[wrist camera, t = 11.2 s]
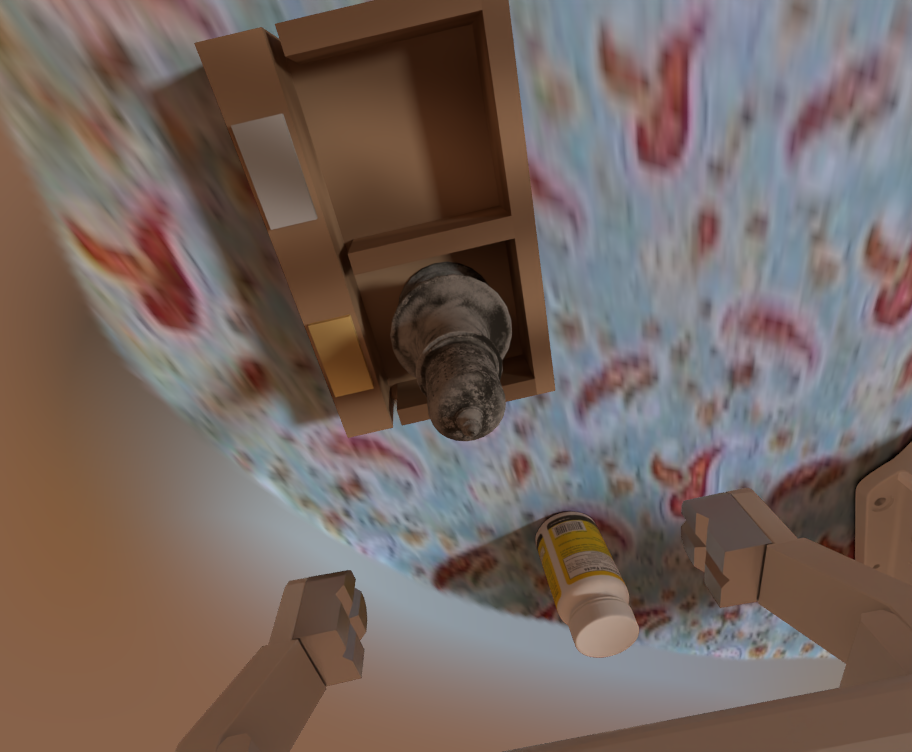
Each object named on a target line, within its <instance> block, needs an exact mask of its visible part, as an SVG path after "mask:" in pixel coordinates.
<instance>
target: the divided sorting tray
mask: <svg viewBox="0 0 912 752" xmlns="http://www.w3.org/2000/svg"><path fill="white" fill-rule="evenodd" d="M275 26H276V29H277V32H278V35H279V38H277V37H276V36H274V35H273V34H271V33H270V32H268V31H267V30H265V29H263V28H262V27H260V28H256V29H251V30H247V31H243V32H239V33H235V34H230V35H226V36H222V37H218V38H214V39H209V40H205V41H201V42H197V43H194V44H195V46H196V49H197V51H198V54H199V56H200V59H201V62H202V64H203V67H204V69H205V72H206V74H207V77H208V80H209V82H210V85H211V87H212V90H213V92H214V95H215V98H216V100H217V103H218V105H219V108H220V110H221V113H222V116H223V118H224V121H225V123H226V126H227V128H228V131H229V134H230V136H231V139H232V141H233V144H234V146H235V149H236V152H237V154H238V157H239V159H240V162H241V164H242V167H243V170H244V172H245V175H246V177H247V180H248V182H249V185H250V188H251V190H252V193H253V195H254V198H255V200H256V203H257V206H258V208H259V211H260V213H261V216H262V218H263V221H264V224H265V226H266V229H267V231H268V234H269V236H270V239H271V242H272V244H273V247H274V249H275V252H276V254H277V257H278V260H279V262H280V265H281V267H282V270H283V272H284V275H285V278H286V280H287V283H288V285H289V288H290V290H291V293H292V296H293V298H294V301H295V303H296V306H297V308H298V311H299V314H300V316H301V319H302V321H303V324H304V326H305V329H306V332H307V334H308V337H309V339H310V342H311V344H312V347H313V349H314V352H315V355H316V357H317V360H318V362H319V365H320V367H321V370H322V373H323V375H324V378H325V380H326V383H327V385H328V388H329V391H330V393H331V396H332V398H333V401H334V403H335V406H336V409H337V411H338V414H339V416H340V419H341V421H342V424H343V427H344V429H345V432H346V434H347V437H348V438H349V437H354V436H358V435H363V434H367V433H371V432H376V431H380V430H384V429H389V428H393V406H394V399H397V412H398V415H399V418H400V421H401V424H402V425H406V424H411V423H415V422H419V421H424V420H428V419H430V417H429V414H428V406H427V397H426V396H425V395H424V394H423V392H422V391H421V389H420V387H419V385H418V383H417V379H416V378H415V377H413V376H412V375H410V374H409V373H408V372H407V371H406V370H405V369H404V368H403V367H402V365H401V364H400V363H399V361H398V359H397V357H396V355H395V353H394V351H393V348H392V342H391V336H390V333H391V324H392V318H393V316H394V313H395V311H396V308H397V306H398V304H399V297H400V295H401V292H402V290H403V287H404V285H405V284H406V283H407V282H408V280H409V279H410V278H411V276H412V275H414V274H415V273H416V272H418V271H419V270H421V269H422V268H424V267H426V266H429V265H431V264H434V263H441V262H454V263H461V264H463V265H465V266H468V267H470V268H472V269H474V270H475V271H476V272H477V273H479V274H480V275H481V276H482V277H483V278H484V279H485V281H486V282H487V284H488V285H489V286H490V287H491V288H492V289H493V290H495V291H496V292H497V293H498V294H499V296H500V297H501V299H502V300H503V301H504V303H505V304H506V306H507V309H508V312H509V315H510V318H511V324H512V337H511V341H510V345H509V349H508V351H507V353H506V355H505V357H504V358H503V360H502V365H503V371H502V375H501V379H500V383H501V385H502V388H503V391H504V394H505V402H507V401H512V400H516V399H520V398H525V397H529V396H533V395H538V394H542V393H547V392H551V391H555V383H554V375H553V366H552V358H551V350H550V341H549V333H548V325H547V317H546V308H545V300H544V292H543V283H542V275H541V267H540V259H539V250H538V242H537V234H536V225H535V217H534V209H533V200H532V192H531V184H530V176H529V167H528V159H527V151H526V142H525V134H524V126H523V117H522V109H521V101H520V93H519V84H518V76H517V68H516V59H515V51H514V43H513V35H512V26H511V18H510V10H509V1H508V0H374V1H369V2H365V3H361V4H357V5H353V6H348V7H344V8H340V9H336V10H332V11H327V12H323V13H319V14H315V15H310V16H306V17H302V18H298V19H294V20H289V21H285V22H281V23H277V24H275Z"/></svg>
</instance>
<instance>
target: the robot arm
mask: <svg viewBox="0 0 912 752" xmlns="http://www.w3.org/2000/svg"><path fill="white" fill-rule="evenodd" d="M681 513H682V515H683V516H684V518H685V519H686V521H685V522H684V524H683V525H682V526H681V538H682V541H683V545H684V549H685V551H686V553H687V555H688V557H689V559H690V561H691V562H692V564H693V566H694V567H696V568H698V569H699V570H701V571H703V572H705V573H704V583H705V585H706V586H707V588H708V590H709V591H710V593H711V594H712V596H713V598H714V599H715V601H716V602H717V604H718V605H719V607H720V608H722V607H728V606H733V605H739V604H745V603H751V602H757V601H759V602H758V603H759V604H760V605H761V606H763V607H764V608H766V609H767V610H769V611H770V612H772V613H773V614H774V615H776V616H777V617H779V618H780V619H782V620H783V621H785V622H786V623H788V624H789V625H790V626H792V627H793V628H795V629H796V630H798V631H799V632H801V633H802V634H804V635H805V636H806V637H808V638H809V639H811V640H812V641H814V642H815V643H817V644H818V645H819V646H821V647H822V648H824V649H825V650H827V651H828V652H830V653H831V654H833V655H834V656H835V657H837V658H838V659H840V660H841V661H843V662H844V663H846V667H845V670H844V673H843V677H842V680H841V683H840V687H839V688H835V689H830V690H825V691H820V692H814V693H809V694H804V695H798V696H793V697H788V698H783V699H777V700H772V701H767V702H761V703H757V704H751V705H746V706H741V707H735V708H730V709H725V710H720V711H714V712H709V713H703V714H698V715H693V716H688V717H683V718H678V719H672V720H667V721H661V722H656V723H651V724H645V725H640V726H635V727H630V728H624V729H619V730H614V731H608V732H603V733H598V734H592V735H587V736H582V737H577V738H571V739H566V740H561V741H556V742H551V743H545V744H540V745H535V746H530V747H524V748H520V749H514V750H509V751H503V752H912V441H911V442H910V443H909V445H908V446H907V447H906V448H905V449H904V450H903V451H901V452H900V453H899V454H898V455H897V456H896V457H895V458H894V459H892V460H890V461H889V462H887V463H886V464H884V465H882V466H881V467H879V468H878V469H876V470H875V471H873V472H872V473H870V474H869V475H867V476H866V477H865V478H864V479H862V480H861V481H860V483H859V484H858V485H857V488H856V499H855V560H853V559H851V558H849V557H847V556H844V555H842V554H840V553H838V552H836V551H833V550H831V549H829V548H827V547H824V546H822V545H820V544H818V543H816V542H813V541H811V540H809V539H807V538H799V539H798V538H797V537H796V536H795V535H794V534H793V533H792V532H791V531H790V530H789V529H788V527H787V526H786V525H785V524H784V523H783V522H782V521H781V520H780V519H779V518H778V517H777V516H776V515H775V513H774V512H773V511H772V510H771V509H770V508H769V507H768V506H767V505H766V504H765V503H764V502H763V501H762V500H761V498H760V497H759V496H758V495H757V494H756V493H755V492H754V491H753V490H752V489H750V488H743V489H738V490H733V491H729V492H726V493H724V492H723V493H718V494H714V495H709V496H704V497H700V498H695V499H691V500H686V501H684V502H683V504H682V512H681ZM355 580H356V579H355V577H354V575H353V573H352V571H351V570H346V571H341V572H335V573H330V574H324V575H318V576H313V577H308V578H303V579H297V580H292V581H289V582H288V584H287V585H286V587H285V589H284V592H283V595H282V599H281V602H280V606H279V609H278V613H277V616H276V620H275V623H274V627H273V631H272V634H271V637H270V641H269V644H268V645H265V646H262V647H261V648H260V649H259V651H258V652H257V653H256V654H255V655H254V656H253V657H252V659H251V660H250V661H249V662H248V663H247V664H246V666H245V667H244V668H243V669H242V671H241V672H240V673H239V674H238V675H237V676H236V677H235V678H234V680H233V681H232V682H231V683H230V684H229V686H228V687H227V688H226V689H225V690H224V691H223V692H222V694H221V695H220V696H219V697H218V698H217V699H216V701H215V702H214V703H213V704H212V705H211V706H210V708H209V709H208V710H207V711H206V712H205V713H204V715H203V716H202V717H201V718H200V719H199V720H198V721H197V723H196V724H195V725H194V726H193V727H192V729H191V730H190V731H189V732H188V733H187V734H186V735H185V737H184V738H183V739H182V740H181V741H180V742H179V744H178V745H177V748H176V751H175V752H290V750H291V748H292V746H293V745H294V743H295V741H296V740H297V738H298V736H299V735H300V733H301V731H302V729H303V728H304V726H305V724H306V723H307V721H308V719H309V717H310V716H311V714H312V712H313V711H314V709H315V707H316V706H317V704H318V702H319V700H320V699H321V697H322V695H323V694H324V692H325V690H326V687H325V686H330V685H334V684H338V683H343V682H347V681H352V680H356V679H360V678H362V667H363V659H364V648H363V646H362V644H361V642H360V640H361V639H362V637H363V636H364V634H365V633H366V628H367V611H366V604H365V600H364V597H363V594H362V593H361V591H360V590H358V589H356V588H355Z"/></svg>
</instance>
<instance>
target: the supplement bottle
mask: <svg viewBox="0 0 912 752" xmlns="http://www.w3.org/2000/svg"><path fill="white" fill-rule="evenodd" d="M535 542H536V547H537V550H538V553H539V556H540V559H541V562H542V565H543V568H544V572H545V575H546V578H547V581H548V584H549V587H550V590H551V593H552V596H553V599H554V602H555V605H556V609H557V612H558V614H559V616H560V618H561V619H562V621H563V622H564V623H565V624H567V625H568V626H569V629H570V632H571V635H572V638H573V640H574V643H575V646H576V648H577V649H578V651H579V652H581V653H582V654H584V655H586V656H589V657H595V658H602V657H608V656H612V655H616V654H618V653H620V652H622V651H624V650H626V649H627V648H629V647H630V646H631V645H632V644H633V643H634V642H635V640H636V639H637V637H638V634H639V627H638V624H637V622H636V619H635V617H634V614H633V611H632V609H631V608H630V606H629V593H628V589H627V587H626V585H625V583H624V581H623V579H622V576H621V574H620V572H619V570H618V568H617V566H616V564H615V562H614V560H613V558H612V556H611V554H610V552H609V550H608V548H607V546H606V544H605V542H604V540H603V538H602V536H601V534H600V532H599V530H598V528H597V526H596V524H595V522H594V521H593V520H592V519H591V518H590V517H589V516H587V515H585V514H583V513H579V512H563V513H559V514H556V515H554V516H552V517H550V518H549V519H547V520H546V521H545V522H544V523H543V524H542V525H541V527H540V528H539V530H538V532H537V534H536V538H535Z"/></svg>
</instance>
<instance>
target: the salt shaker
mask: <svg viewBox="0 0 912 752" xmlns="http://www.w3.org/2000/svg"><path fill="white" fill-rule="evenodd" d="M390 336H391V342H392V348H393V351H394V353H395V355H396V357H397V359H398V361H399V363H400V364H401V365H402V367H403V368H404V369H405V370H406V371H407V372H408V373H409V374H410V375H412V376H413V377H415V378H416V379H417V383H418V385H419V387H420V389H421V391H422V392H423V394H424V395H425V396H426V397H427V406H428V414H429V417H430V419H431V421H432V423H433V425H434V427H435V428H436V429H437V430H438V431H439V433H441V434H442V435H444V436H445V437H447V438H450V439H453V440H457V441H471V440H476V439H479V438H481V437H484V436H486V435H487V434H489V433H490V432H492V431H493V430H494V429H495V428H496V427H497V426H498V425H499V423H500V421H501V420H502V418H503V416H504V412H505V406H506V402H505V394H504V391H503V388H502V385H501V383H500V379H501V375H502V371H503V365H502V360H503V358H504V357H505V355H506V353H507V351H508V349H509V345H510V341H511V337H512V324H511V318H510V315H509V312H508V309H507V306H506V304H505V303H504V301H503V300H502V299H501V297H500V296H499V294H498V293H497V292H496V291H495V290H493V289H492V288H491V287H490V286H489V285H488V284H487V282H486V281H485V279H484V278H483V277H482V276H481V275H480V274H479V273H477V272H476V271H475V270H474V269H472V268H470V267H468V266H465V265H463V264H461V263H454V262H441V263H434V264H431V265H429V266H426V267H424V268H422V269H421V270H419V271H418V272H416V273H415V274H414V275H412V276H411V278H410V279H409V280H408V282H407V283H406V284H405V285H404V287H403V290H402V292H401V295H400V297H399V304H398V306H397V308H396V311H395V313H394V316H393V318H392V324H391V333H390Z"/></svg>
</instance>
